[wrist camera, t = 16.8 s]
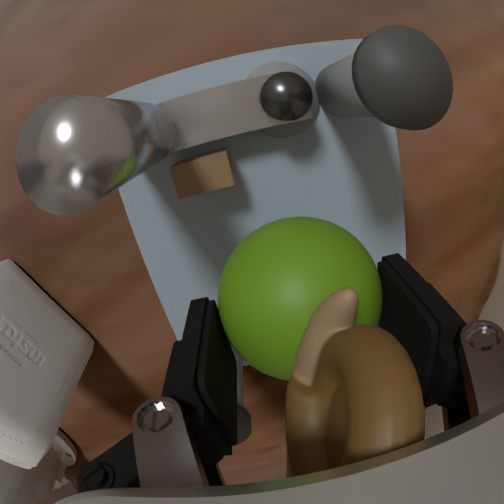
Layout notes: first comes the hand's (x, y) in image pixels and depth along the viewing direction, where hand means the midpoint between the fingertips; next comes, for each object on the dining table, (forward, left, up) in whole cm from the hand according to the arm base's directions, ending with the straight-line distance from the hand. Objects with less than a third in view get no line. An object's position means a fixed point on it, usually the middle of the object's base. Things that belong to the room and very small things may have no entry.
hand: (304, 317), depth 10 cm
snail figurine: (0, 0, -3) cm, 3 cm away
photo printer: (-2, +18, -9) cm, 20 cm away
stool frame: (+1, 0, -9) cm, 9 cm away
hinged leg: (+7, +2, -6) cm, 9 cm away
